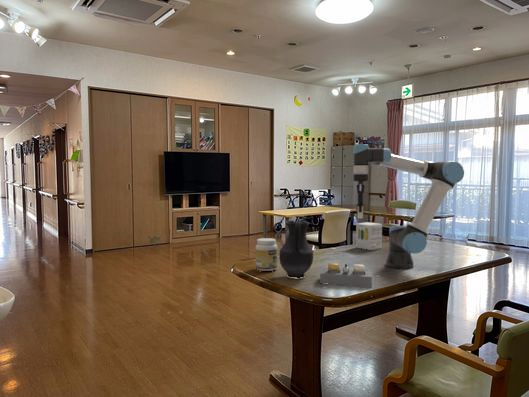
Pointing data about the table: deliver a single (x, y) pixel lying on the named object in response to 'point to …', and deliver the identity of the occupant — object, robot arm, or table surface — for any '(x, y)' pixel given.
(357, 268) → the knob
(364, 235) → the white canister
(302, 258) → the pitcher
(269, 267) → the supplement tub
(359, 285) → the mount
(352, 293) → the table surface
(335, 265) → the knob
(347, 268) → the potentiometer
